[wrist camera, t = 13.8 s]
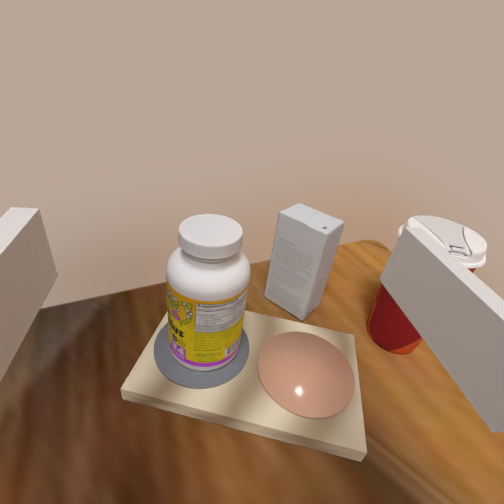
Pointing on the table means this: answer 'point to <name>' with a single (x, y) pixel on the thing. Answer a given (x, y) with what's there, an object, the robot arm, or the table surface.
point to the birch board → (255, 394)
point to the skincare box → (302, 258)
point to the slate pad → (193, 377)
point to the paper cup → (385, 308)
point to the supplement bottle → (207, 292)
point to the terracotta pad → (306, 375)
